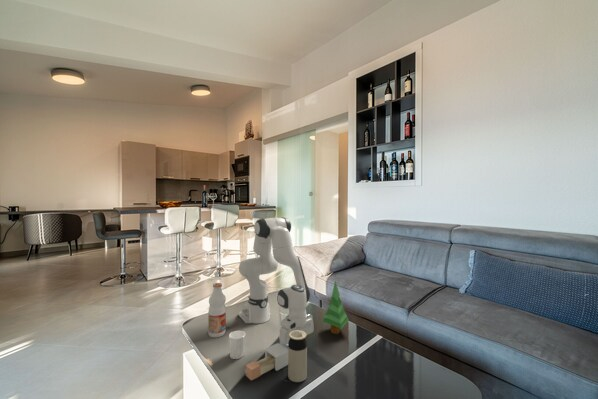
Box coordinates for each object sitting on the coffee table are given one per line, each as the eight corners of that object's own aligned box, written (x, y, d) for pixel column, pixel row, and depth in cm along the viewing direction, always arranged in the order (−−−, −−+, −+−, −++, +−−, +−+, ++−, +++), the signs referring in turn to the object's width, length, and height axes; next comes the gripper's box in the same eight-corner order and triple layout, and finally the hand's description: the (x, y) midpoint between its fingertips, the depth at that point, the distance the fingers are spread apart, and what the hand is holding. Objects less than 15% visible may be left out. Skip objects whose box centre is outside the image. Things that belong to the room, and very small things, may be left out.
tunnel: (265, 361, 121) (265, 348, 121) (278, 354, 126) (278, 342, 126) (276, 370, 114) (276, 357, 114) (290, 363, 120) (290, 350, 120)
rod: (254, 371, 114) (255, 362, 114) (286, 355, 127) (286, 347, 127) (260, 376, 111) (260, 366, 111) (291, 359, 124) (291, 350, 124)
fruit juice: (208, 330, 150) (209, 282, 150) (225, 328, 152) (225, 280, 153) (207, 339, 141) (208, 287, 141) (225, 336, 143) (226, 285, 144)
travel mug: (292, 385, 106) (292, 340, 106) (285, 373, 113) (285, 331, 113) (309, 379, 109) (310, 336, 109) (302, 368, 116) (302, 328, 116)
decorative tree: (339, 324, 159) (339, 275, 159) (352, 337, 144) (352, 282, 144) (319, 327, 154) (319, 277, 155) (330, 341, 139) (330, 285, 140)
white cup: (239, 348, 132) (239, 328, 132) (248, 355, 126) (248, 334, 126) (225, 355, 126) (225, 334, 126) (234, 362, 121) (234, 340, 121)
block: (245, 375, 111) (245, 365, 111) (254, 370, 114) (254, 360, 114) (251, 380, 108) (251, 370, 108) (260, 376, 111) (260, 365, 111)
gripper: (308, 311, 139) (307, 337, 138) (277, 322, 125) (277, 351, 125) (316, 315, 134) (316, 341, 134) (286, 327, 120) (285, 357, 120)
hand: (297, 346), depth 129 cm, fingers closed
